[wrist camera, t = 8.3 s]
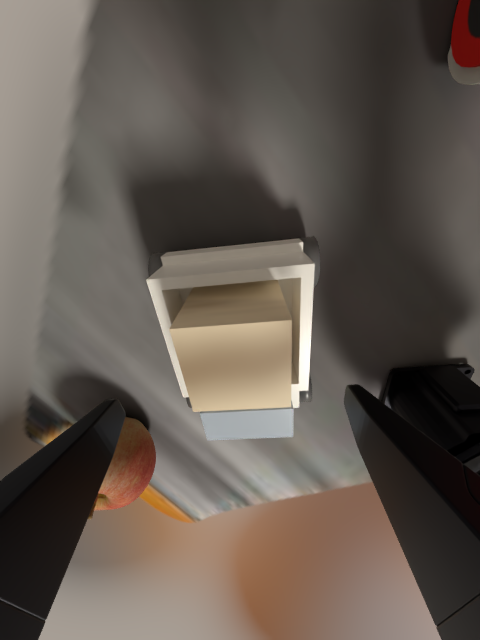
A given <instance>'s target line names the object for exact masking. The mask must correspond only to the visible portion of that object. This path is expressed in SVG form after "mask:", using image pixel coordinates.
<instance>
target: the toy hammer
mask: <svg viewBox="0 0 480 640" xmlns="http://www.w3.org/2000/svg"><path fill="white" fill-rule="evenodd" d="M448 65H449V71H450V73H451V75H452V77H453V79H454V80H456V81H457V82H458V83H460V84H465V85H474V84H480V0H459V1H458V5H457V9H456V13H455V17H454V22H453V28H452V37H451V46H450V50H449V53H448Z"/></svg>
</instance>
